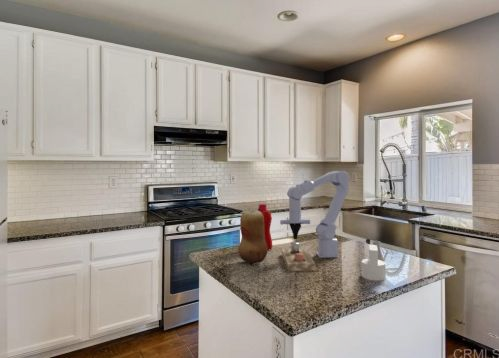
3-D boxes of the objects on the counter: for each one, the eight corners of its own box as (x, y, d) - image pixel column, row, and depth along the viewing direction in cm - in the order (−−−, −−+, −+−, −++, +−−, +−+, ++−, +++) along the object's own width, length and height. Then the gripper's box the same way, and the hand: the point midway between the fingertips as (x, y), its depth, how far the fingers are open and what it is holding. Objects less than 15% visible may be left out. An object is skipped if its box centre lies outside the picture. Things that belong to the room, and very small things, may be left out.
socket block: (305, 254, 156) (305, 248, 156) (315, 270, 132) (315, 263, 132) (281, 255, 156) (281, 249, 156) (288, 270, 132) (287, 264, 132)
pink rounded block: (303, 262, 140) (302, 252, 140) (304, 265, 136) (304, 255, 136) (294, 262, 140) (294, 253, 140) (295, 265, 136) (295, 255, 136)
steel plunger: (298, 250, 152) (298, 241, 152) (300, 253, 148) (299, 243, 148) (290, 250, 152) (290, 242, 152) (291, 253, 148) (291, 244, 148)
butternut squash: (232, 263, 143) (232, 211, 142) (252, 257, 153) (251, 208, 152) (254, 270, 133) (254, 214, 132) (273, 263, 143) (273, 210, 142)
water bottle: (249, 248, 170) (248, 204, 169) (266, 246, 174) (266, 202, 173) (256, 252, 162) (255, 205, 161) (274, 249, 166) (273, 204, 165)
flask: (385, 261, 144) (385, 240, 144) (384, 265, 137) (384, 244, 137) (368, 259, 147) (368, 239, 147) (367, 263, 140) (367, 242, 140)
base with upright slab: (386, 281, 118) (386, 251, 118) (361, 279, 121) (361, 249, 121) (384, 274, 127) (384, 245, 126) (361, 271, 130) (361, 244, 129)
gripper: (308, 210, 153) (308, 236, 154) (279, 210, 153) (279, 236, 154) (311, 212, 146) (311, 239, 147) (281, 212, 146) (281, 240, 147)
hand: (295, 238), depth 150 cm, fingers closed
